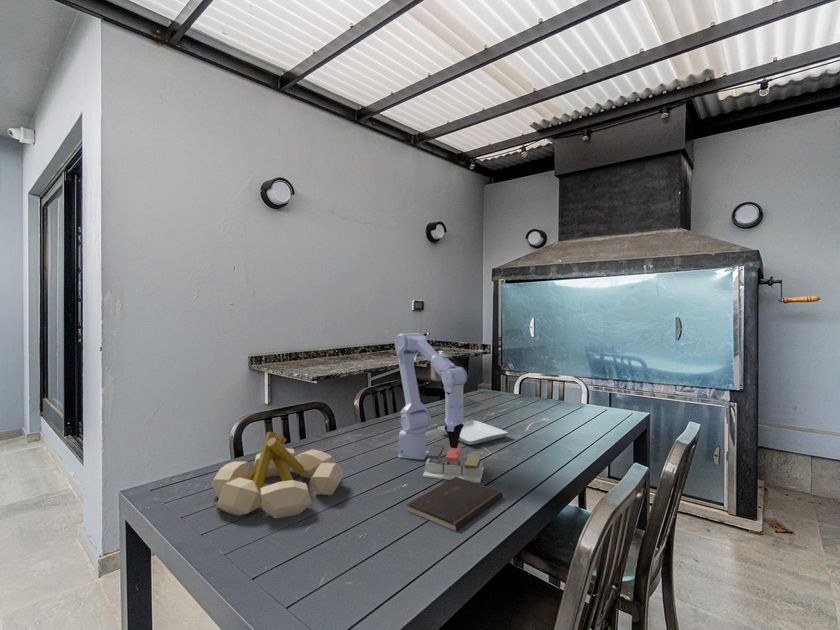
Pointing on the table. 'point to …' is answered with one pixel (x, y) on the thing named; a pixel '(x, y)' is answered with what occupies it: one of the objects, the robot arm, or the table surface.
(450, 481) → the hardcover book
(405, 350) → the robot arm
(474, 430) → the salad plate
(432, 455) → the grey rectangular block
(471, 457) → the brass plug
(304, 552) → the table surface
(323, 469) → the campfire
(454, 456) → the red plug
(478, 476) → the panel
